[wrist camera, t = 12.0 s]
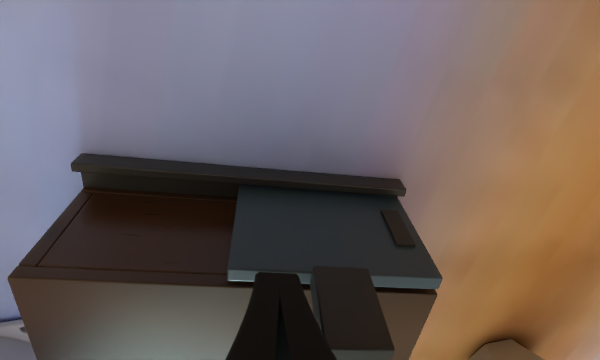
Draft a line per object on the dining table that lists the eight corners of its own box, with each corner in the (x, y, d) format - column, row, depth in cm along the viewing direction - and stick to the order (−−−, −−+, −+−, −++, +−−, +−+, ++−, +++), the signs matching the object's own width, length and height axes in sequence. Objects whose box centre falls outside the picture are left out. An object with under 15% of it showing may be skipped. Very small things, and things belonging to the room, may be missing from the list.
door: (239, 177, 17) (215, 346, 9) (398, 189, 18) (493, 351, 10) (238, 193, 17) (214, 367, 10) (393, 204, 18) (481, 370, 11)
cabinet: (80, 153, 16) (-9, 239, 11) (400, 179, 18) (453, 263, 13) (112, 325, 22) (63, 436, 17) (353, 331, 24) (376, 432, 19)
